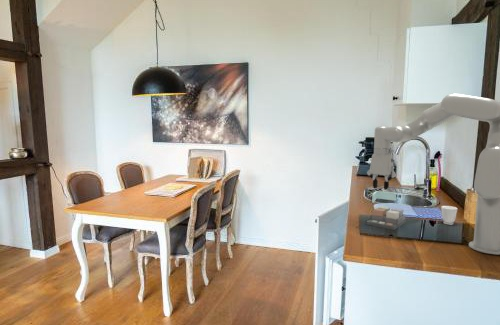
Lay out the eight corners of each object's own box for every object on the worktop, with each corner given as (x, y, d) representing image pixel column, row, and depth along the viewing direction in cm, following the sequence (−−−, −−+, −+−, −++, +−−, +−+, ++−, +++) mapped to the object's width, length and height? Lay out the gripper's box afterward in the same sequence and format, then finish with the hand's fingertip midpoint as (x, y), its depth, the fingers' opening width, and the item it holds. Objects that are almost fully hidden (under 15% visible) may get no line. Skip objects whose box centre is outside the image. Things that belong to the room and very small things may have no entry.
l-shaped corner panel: (371, 206, 195) (372, 194, 194) (375, 202, 205) (375, 191, 205) (393, 208, 189) (393, 196, 188) (395, 204, 199) (396, 192, 199)
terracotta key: (385, 215, 160) (385, 209, 160) (382, 217, 157) (382, 211, 157) (376, 213, 163) (376, 208, 163) (373, 215, 160) (373, 209, 160)
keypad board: (405, 222, 161) (405, 214, 161) (394, 230, 148) (394, 222, 148) (379, 217, 170) (379, 210, 169) (366, 224, 157) (366, 216, 157)
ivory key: (399, 217, 156) (399, 211, 156) (396, 219, 153) (396, 213, 152) (389, 216, 159) (389, 210, 159) (386, 218, 156) (386, 212, 156)
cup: (439, 224, 158) (440, 208, 157) (440, 219, 166) (441, 203, 166) (456, 226, 154) (457, 209, 153) (456, 221, 163) (457, 205, 162)
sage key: (389, 213, 165) (390, 207, 165) (386, 214, 161) (386, 209, 161) (380, 211, 168) (380, 206, 168) (377, 213, 165) (377, 207, 164)
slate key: (403, 215, 161) (403, 209, 160) (400, 217, 157) (400, 211, 157) (393, 213, 164) (393, 208, 163) (390, 215, 160) (390, 209, 160)
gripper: (402, 152, 154) (400, 189, 156) (368, 150, 165) (366, 185, 167) (397, 153, 149) (395, 192, 150) (362, 151, 160) (360, 187, 162)
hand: (380, 188), depth 159 cm, fingers open, 4 cm apart
